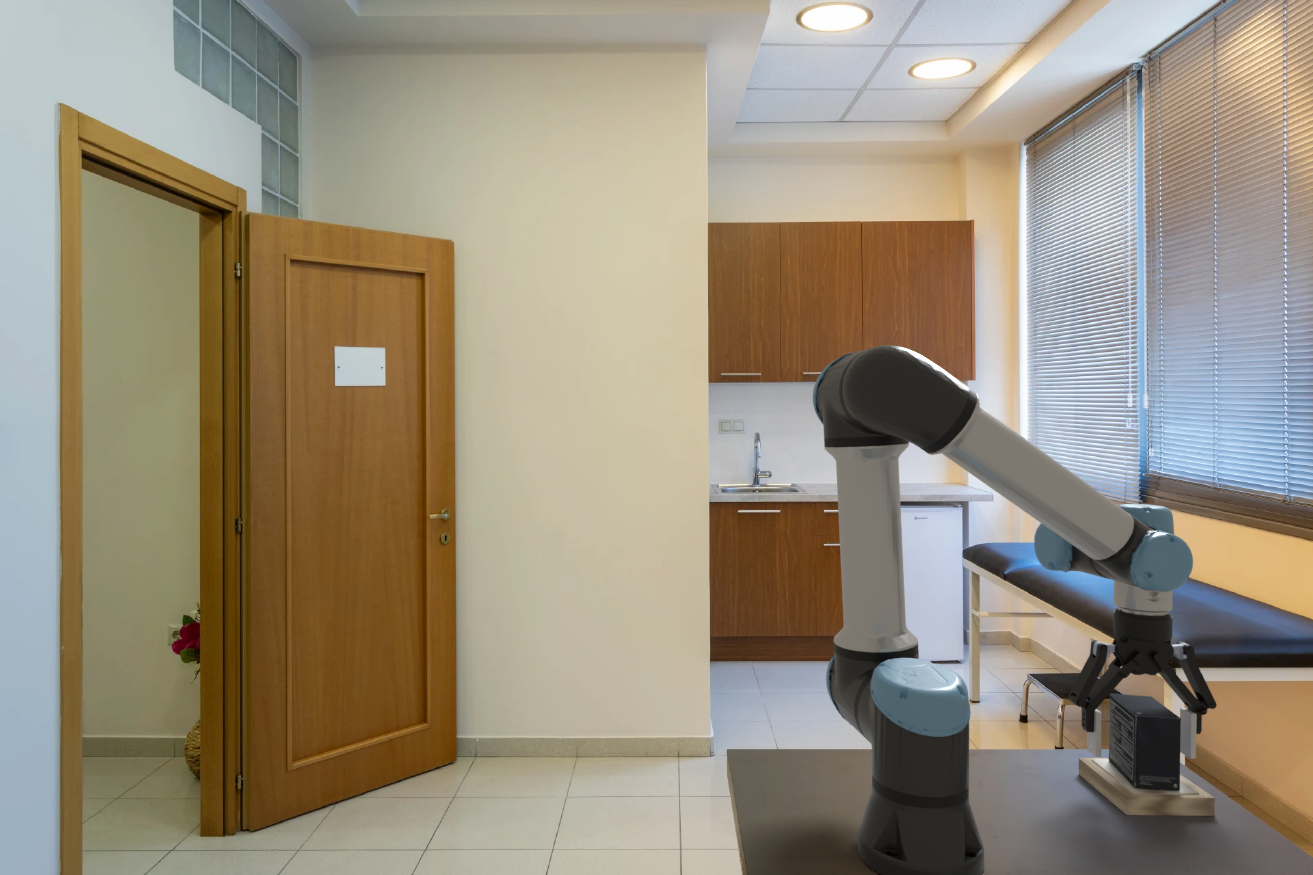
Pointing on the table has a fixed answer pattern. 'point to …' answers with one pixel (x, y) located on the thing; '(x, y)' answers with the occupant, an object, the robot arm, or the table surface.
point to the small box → (1145, 742)
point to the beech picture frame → (1145, 792)
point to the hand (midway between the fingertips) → (1140, 754)
